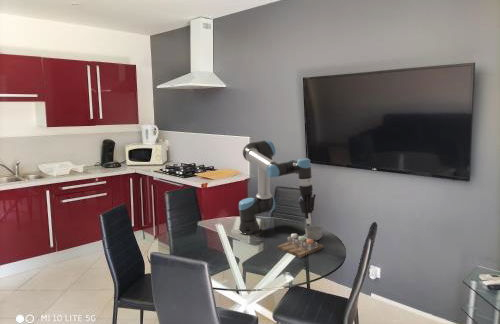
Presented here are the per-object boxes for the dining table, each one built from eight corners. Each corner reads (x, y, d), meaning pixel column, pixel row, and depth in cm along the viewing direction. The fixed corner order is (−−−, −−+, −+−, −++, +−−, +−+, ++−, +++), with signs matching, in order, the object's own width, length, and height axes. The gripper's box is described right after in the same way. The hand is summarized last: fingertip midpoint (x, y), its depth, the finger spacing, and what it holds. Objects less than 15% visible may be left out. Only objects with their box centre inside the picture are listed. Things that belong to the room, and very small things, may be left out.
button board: (277, 248, 231) (277, 241, 230) (300, 239, 242) (299, 232, 241) (300, 257, 215) (299, 249, 214) (322, 247, 226) (322, 240, 225)
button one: (289, 239, 235) (289, 234, 235) (294, 237, 237) (294, 232, 237) (294, 240, 232) (293, 236, 231) (298, 238, 234) (298, 234, 234)
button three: (305, 244, 224) (305, 240, 223) (310, 242, 226) (309, 238, 225) (310, 246, 220) (309, 241, 220) (314, 244, 223) (314, 239, 222)
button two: (297, 242, 229) (297, 237, 229) (302, 240, 232) (301, 235, 231) (301, 243, 226) (301, 238, 226) (306, 241, 228) (306, 237, 228)
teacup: (322, 242, 234) (321, 230, 233) (305, 242, 237) (304, 230, 235) (322, 234, 248) (322, 222, 247) (306, 234, 250) (305, 223, 249)
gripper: (302, 188, 211) (305, 227, 214) (318, 183, 218) (321, 221, 222) (293, 186, 217) (296, 225, 220) (309, 181, 224) (312, 219, 228)
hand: (308, 223), depth 221 cm, fingers closed
